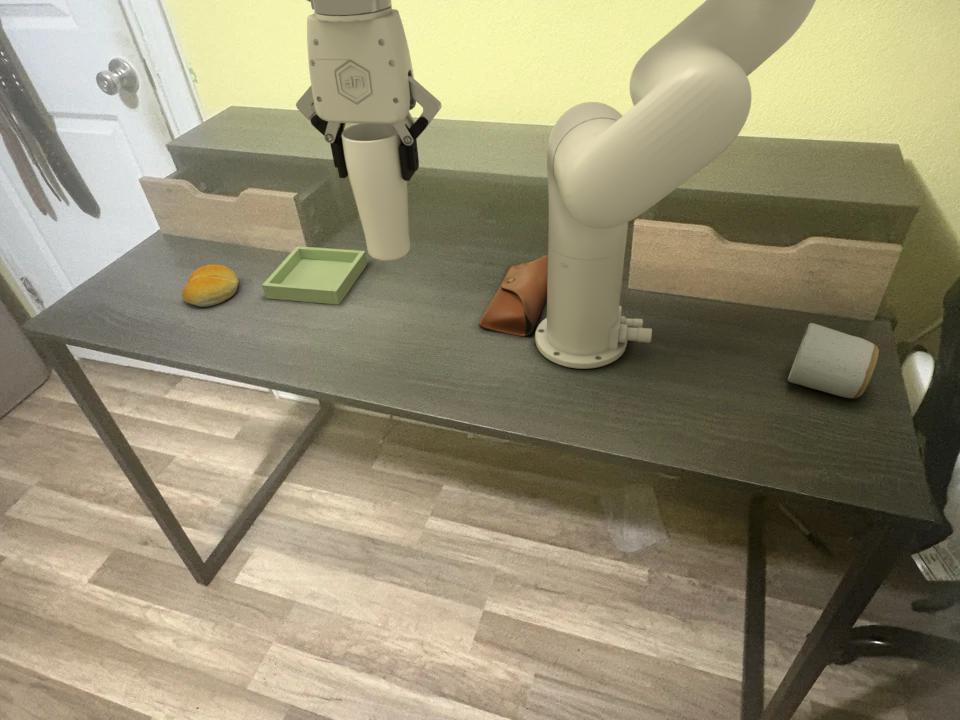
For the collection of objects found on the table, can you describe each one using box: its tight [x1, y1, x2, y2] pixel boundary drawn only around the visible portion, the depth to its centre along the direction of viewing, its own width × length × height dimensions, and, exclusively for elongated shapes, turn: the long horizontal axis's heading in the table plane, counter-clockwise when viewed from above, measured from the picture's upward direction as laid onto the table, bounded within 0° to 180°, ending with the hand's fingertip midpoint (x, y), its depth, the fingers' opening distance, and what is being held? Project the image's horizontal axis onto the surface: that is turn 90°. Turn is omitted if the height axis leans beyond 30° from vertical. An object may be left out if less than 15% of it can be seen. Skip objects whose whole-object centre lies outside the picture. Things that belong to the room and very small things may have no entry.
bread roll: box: [181, 263, 240, 307], centre depth 102 cm, size 8×9×4 cm
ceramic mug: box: [787, 322, 880, 399], centre depth 77 cm, size 11×8×8 cm
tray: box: [261, 245, 369, 306], centre depth 104 cm, size 13×13×2 cm
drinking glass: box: [341, 123, 412, 262], centre depth 74 cm, size 7×7×15 cm
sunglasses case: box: [478, 253, 548, 338], centre depth 96 cm, size 18×7×7 cm, turn 163°
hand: (378, 173), depth 72 cm, fingers closed on drinking glass, 6 cm apart
